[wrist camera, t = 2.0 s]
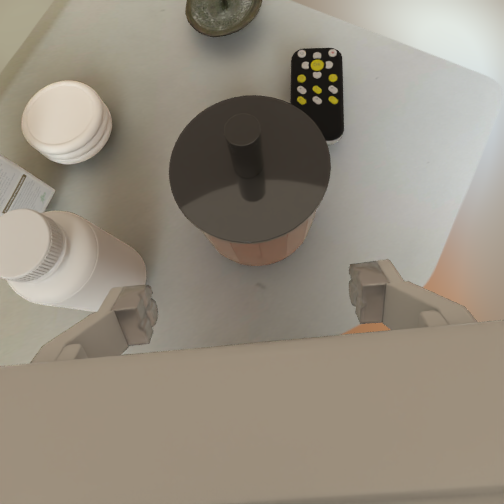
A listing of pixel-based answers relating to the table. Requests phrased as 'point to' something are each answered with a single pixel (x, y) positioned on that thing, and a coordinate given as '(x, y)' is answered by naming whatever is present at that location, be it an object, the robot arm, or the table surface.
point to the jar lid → (250, 169)
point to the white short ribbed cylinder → (67, 122)
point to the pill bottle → (64, 259)
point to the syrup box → (21, 189)
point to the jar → (263, 247)
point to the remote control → (319, 89)
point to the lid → (221, 15)
